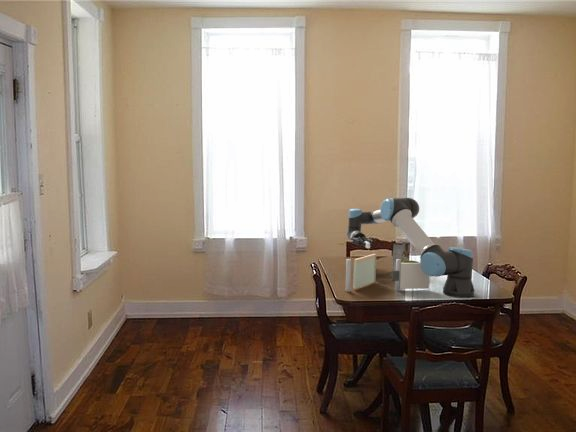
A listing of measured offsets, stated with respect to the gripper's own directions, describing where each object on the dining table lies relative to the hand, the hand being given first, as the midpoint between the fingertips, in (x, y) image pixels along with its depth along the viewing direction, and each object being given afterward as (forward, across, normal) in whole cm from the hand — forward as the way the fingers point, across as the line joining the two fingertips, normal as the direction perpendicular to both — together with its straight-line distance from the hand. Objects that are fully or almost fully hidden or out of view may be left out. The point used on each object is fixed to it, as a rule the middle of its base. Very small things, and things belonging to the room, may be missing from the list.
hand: (368, 245), depth 310 cm
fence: (+24, -4, -18) cm, 31 cm away
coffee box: (-23, -26, -19) cm, 40 cm away
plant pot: (-3, -25, -19) cm, 32 cm away
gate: (+16, +5, -17) cm, 24 cm away
